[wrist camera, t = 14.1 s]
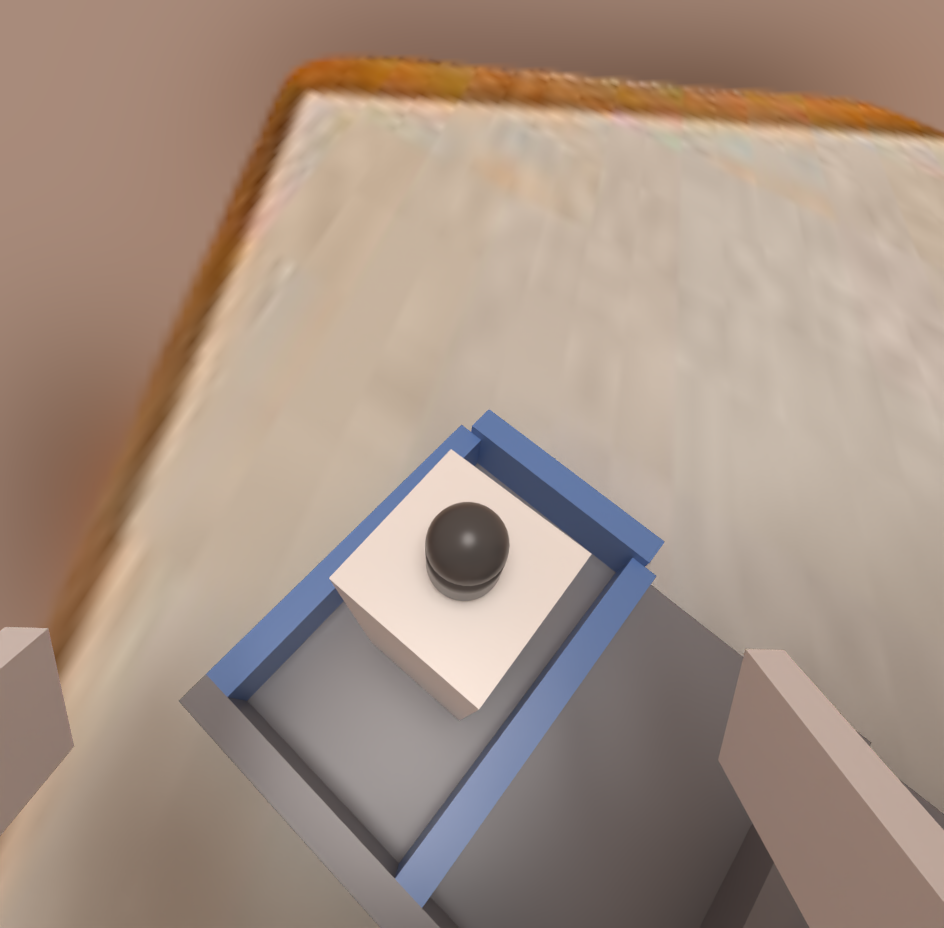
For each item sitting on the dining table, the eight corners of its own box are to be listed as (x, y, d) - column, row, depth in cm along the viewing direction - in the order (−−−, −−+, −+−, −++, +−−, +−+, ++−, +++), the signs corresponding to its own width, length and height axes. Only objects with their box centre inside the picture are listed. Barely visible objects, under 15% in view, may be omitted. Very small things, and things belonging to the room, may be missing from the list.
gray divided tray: (474, 437, 24) (478, 401, 21) (1061, 894, 18) (1168, 922, 15) (207, 704, 19) (171, 699, 16) (908, 1477, 13) (1031, 1669, 10)
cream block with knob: (444, 558, 21) (454, 395, 11) (528, 626, 20) (624, 516, 10) (371, 642, 20) (305, 544, 9) (459, 720, 19) (489, 703, 9)
